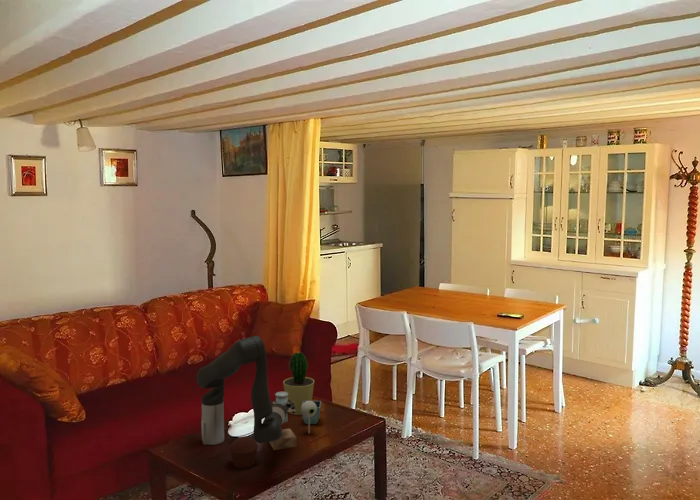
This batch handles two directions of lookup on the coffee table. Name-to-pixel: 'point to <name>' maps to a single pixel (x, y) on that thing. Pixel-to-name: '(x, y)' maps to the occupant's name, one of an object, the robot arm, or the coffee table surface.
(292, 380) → the potted cactus
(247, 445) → the muffin
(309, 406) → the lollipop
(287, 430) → the plinth
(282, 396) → the vase
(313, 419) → the flower pot
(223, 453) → the coffee table surface
